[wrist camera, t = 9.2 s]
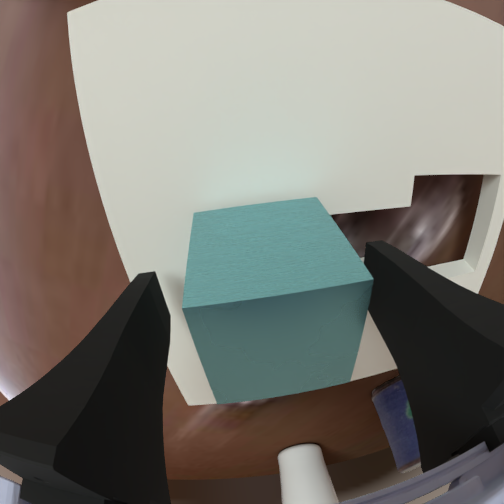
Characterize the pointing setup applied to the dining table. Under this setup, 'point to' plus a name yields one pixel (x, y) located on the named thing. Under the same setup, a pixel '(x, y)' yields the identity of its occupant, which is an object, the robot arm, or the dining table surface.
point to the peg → (274, 299)
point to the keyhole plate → (283, 124)
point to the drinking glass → (305, 476)
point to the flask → (398, 423)
